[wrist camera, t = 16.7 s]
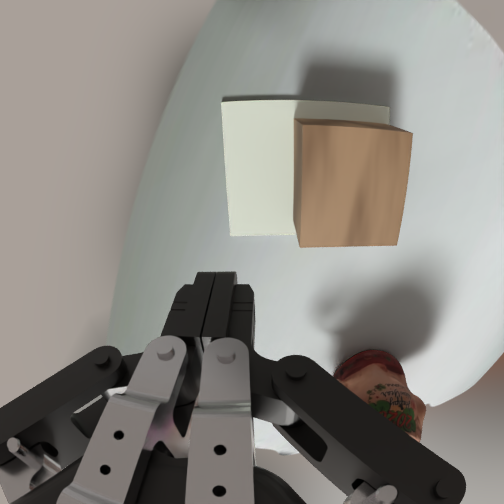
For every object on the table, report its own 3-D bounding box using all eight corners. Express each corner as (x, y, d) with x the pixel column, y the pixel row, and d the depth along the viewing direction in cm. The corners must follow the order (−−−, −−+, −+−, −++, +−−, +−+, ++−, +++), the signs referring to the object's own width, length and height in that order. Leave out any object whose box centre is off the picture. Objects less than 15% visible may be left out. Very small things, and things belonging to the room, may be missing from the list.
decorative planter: (273, 381, 40) (275, 471, 28) (315, 324, 34) (334, 431, 22) (381, 397, 43) (399, 468, 31) (428, 351, 37) (461, 427, 25)
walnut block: (293, 118, 22) (385, 123, 22) (292, 219, 27) (376, 219, 26) (302, 125, 18) (412, 133, 18) (299, 247, 22) (396, 245, 22)
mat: (388, 106, 22) (390, 107, 21) (376, 231, 28) (377, 233, 27) (221, 102, 22) (221, 102, 22) (230, 234, 28) (230, 236, 28)
